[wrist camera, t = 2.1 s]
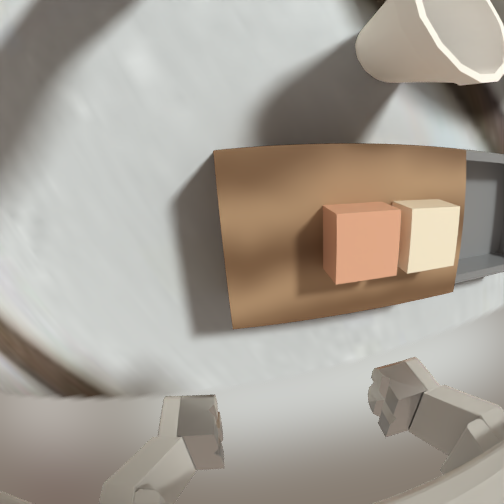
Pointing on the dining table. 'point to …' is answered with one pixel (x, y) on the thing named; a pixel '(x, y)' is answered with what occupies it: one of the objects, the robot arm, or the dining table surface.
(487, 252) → the box
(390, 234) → the salmon orange block
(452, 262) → the cream block
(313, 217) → the walnut platform
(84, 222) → the dining table surface
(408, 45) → the foam cup
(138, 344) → the dining table surface
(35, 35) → the dining table surface
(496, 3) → the decorative bowl
